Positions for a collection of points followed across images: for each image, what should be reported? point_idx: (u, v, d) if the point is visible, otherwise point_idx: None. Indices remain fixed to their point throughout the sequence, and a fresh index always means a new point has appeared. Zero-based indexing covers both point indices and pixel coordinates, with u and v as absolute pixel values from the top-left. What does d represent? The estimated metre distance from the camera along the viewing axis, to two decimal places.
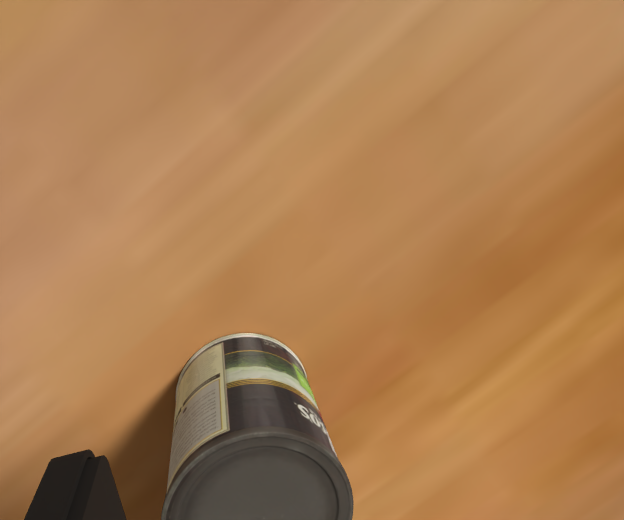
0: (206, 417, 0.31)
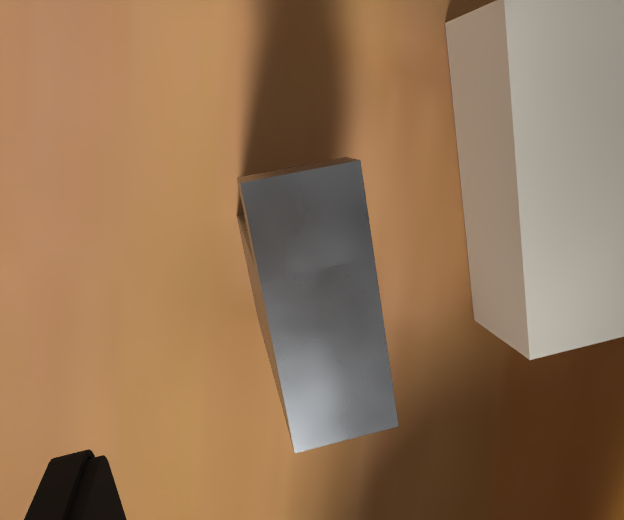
0: None
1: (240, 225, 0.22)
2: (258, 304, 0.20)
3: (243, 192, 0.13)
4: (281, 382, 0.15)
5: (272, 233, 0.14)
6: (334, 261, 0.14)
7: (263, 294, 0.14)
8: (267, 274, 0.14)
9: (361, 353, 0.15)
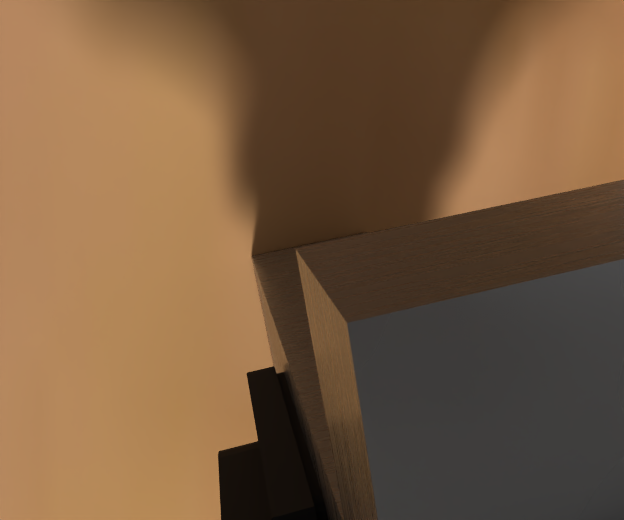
0: None
1: (262, 288, 0.11)
2: None
3: (361, 367, 0.03)
4: None
5: None
6: None
7: None
8: None
9: None
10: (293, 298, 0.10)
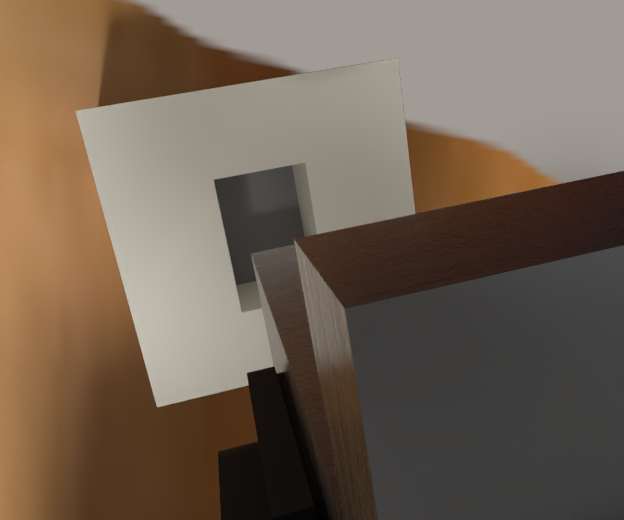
0: None
1: (262, 285, 0.11)
2: None
3: (359, 354, 0.03)
4: None
5: (475, 518, 0.03)
6: None
7: None
8: None
9: None
10: (292, 295, 0.10)
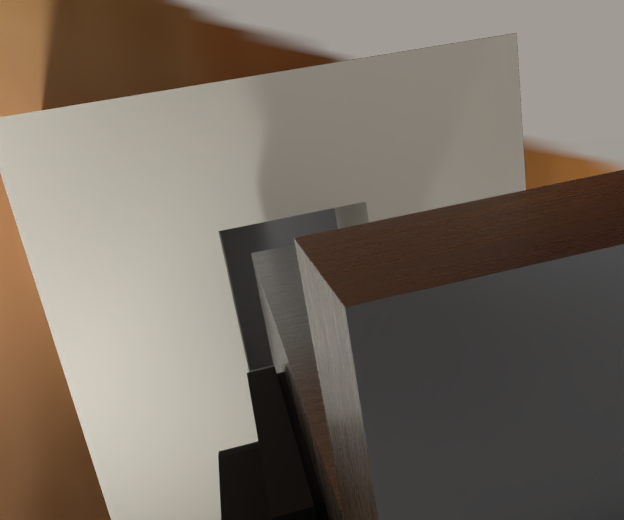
0: None
1: (262, 285, 0.11)
2: None
3: (360, 353, 0.03)
4: None
5: (476, 518, 0.03)
6: None
7: None
8: None
9: None
10: (292, 295, 0.10)
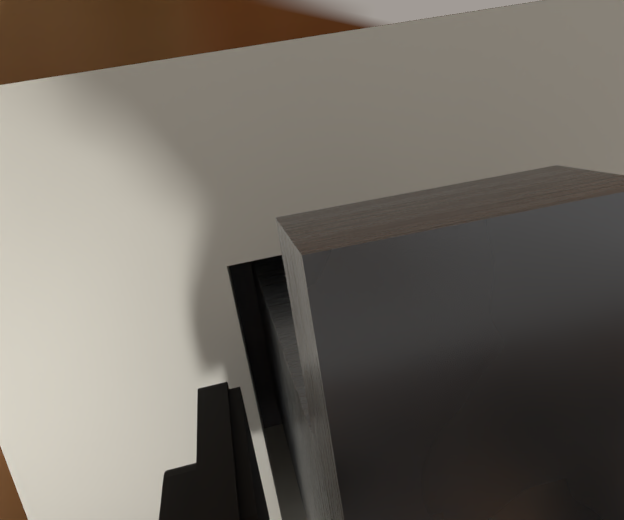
0: None
1: (256, 271, 0.13)
2: (291, 429, 0.11)
3: (311, 285, 0.04)
4: None
5: (393, 405, 0.04)
6: (558, 471, 0.05)
7: None
8: (369, 517, 0.05)
9: None
10: (282, 278, 0.12)
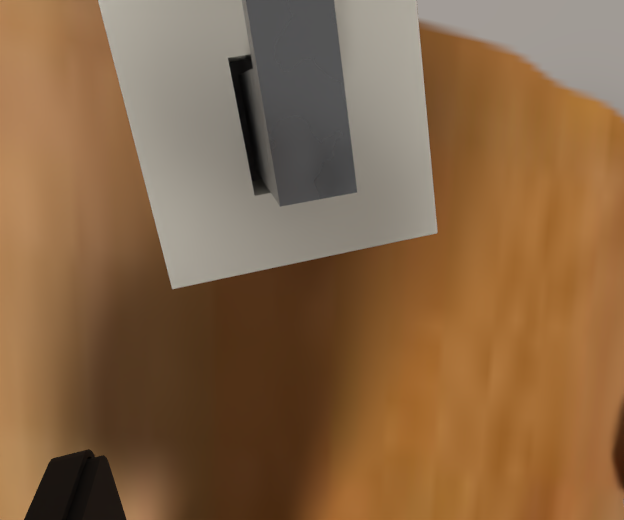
0: None
1: None
2: (255, 128, 0.25)
3: None
4: (271, 148, 0.20)
5: (266, 29, 0.19)
6: (311, 55, 0.19)
7: (259, 77, 0.19)
8: (262, 61, 0.19)
9: (330, 130, 0.20)
10: None
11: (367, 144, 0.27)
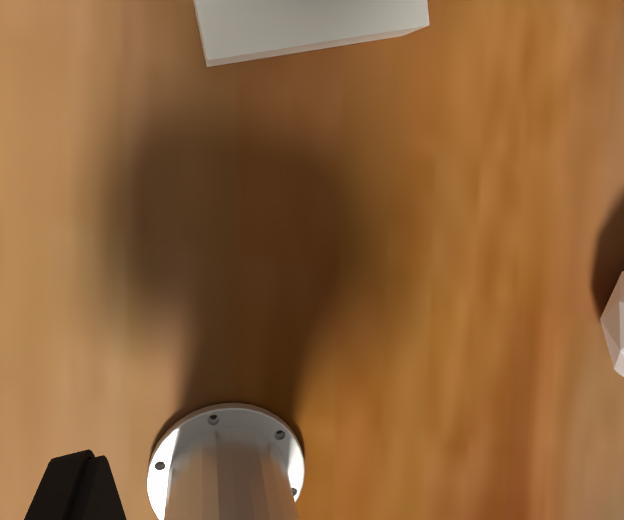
0: None
1: None
2: None
3: None
4: None
5: None
6: None
7: None
8: None
9: None
10: None
11: None
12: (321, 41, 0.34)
